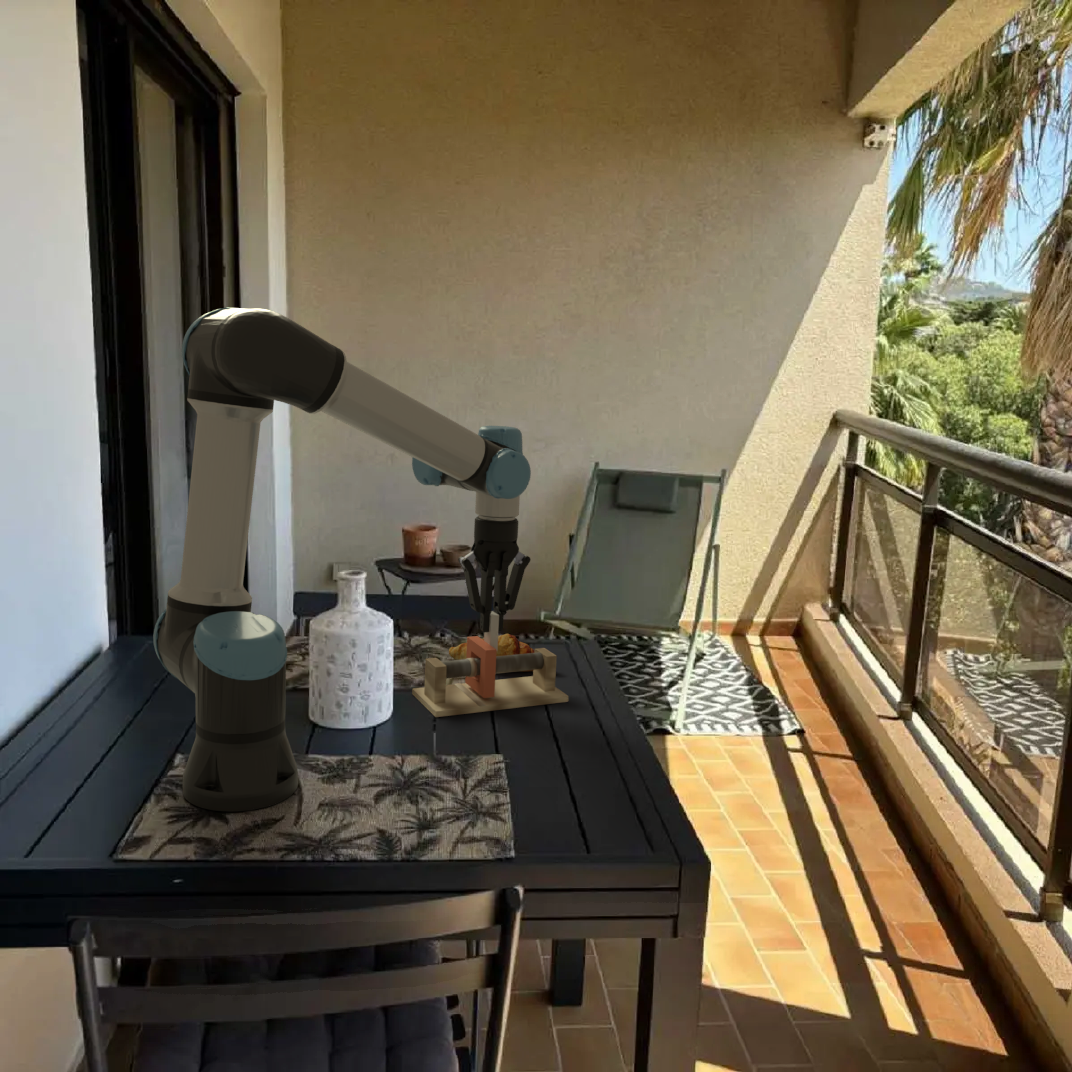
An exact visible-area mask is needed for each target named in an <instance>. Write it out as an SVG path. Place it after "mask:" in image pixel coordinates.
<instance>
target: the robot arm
mask: <svg viewBox="0 0 1072 1072" xmlns="http://www.w3.org/2000/svg"><path fill="white" fill-rule="evenodd" d="M181 344H182V345H181V357H182V362H183V366H184V368H185V370H186V372H187V374H188V376H189V380H188V388H187V389H188V390H187V391H188V392H187V399H186V400H187V402H188V403H189V404H190V405H191V407H192V408H193V409H194V411H195V412H196V414H197V415H196V426H195V433H194V434H195V435H194V445H193V452H192V454H193V455H192V463H191V464H192V465H191V466H192V467H191V474H190V483H189V484H190V486H189V494H188V502H187V503H188V504H187V512H186V513H187V515H186V523H185V524H186V525H185V534H184V535H185V536H184V543H183V553H182V554H183V555H182V560H181V561H182V564H181V573H180V579H179V582H178V583H176V584H175V585H174V586H172V587H170V589H169V590H168V591H167V601H166V608H165V610H164V611H162V612H161V614H160V615H159V617H158V618H157V620H156V623H155V625H154V629H153V639H152V640H153V646H154V647H153V648H154V651H155V653H156V656H157V658H158V660H159V661H160V663H161V664H162V667H164V669H165V670H166V672H168V673H169V674H171V677H174V678H175V679H177V680H178V681H180V682H181V683H182V684H183V685H185V687H186V688H188V689H189V690H190V691H191V692H192V693H193V694H194V696H195V738H194V742H193V744H192V747H191V750H190V752H189V756H188V760H187V762H186V765H185V768H184V771H183V775H182V795H183V797H184V799H185V800H186V801H187V802H188V803H190V804H192V805H194V806H195V807H198V808H201V809H205V810H209V811H217V812H245V811H247V812H248V811H253V810H258V809H264V808H267V807H271V806H273V805H275V804H276V805H277V804H279V803H281V802H282V801H284V800H287V799H288V798H289V797H291V796H292V795H293V794H294V793H295V792H296V791H297V789H298V785H299V783H298V782H299V770H298V764H297V762H296V760H295V756H294V754H293V751H292V747H291V745H290V741H289V738H288V736H287V732H286V696H287V695H286V688H287V687H286V685H287V682H286V681H287V660H288V659H287V657H288V648H287V647H288V646H287V643H286V634H285V630H284V629H283V627H282V626H281V625H280V623H279V622H278V621H276V620H275V619H273V618H271V617H270V616H266V615H264V614H262V613H261V614H255V613H254V612H252V604H253V603H252V601H253V597H252V595H251V594H250V593H249V592H248V591H247V590H246V588H245V587H244V579H245V578H244V577H245V566H246V557H247V550H248V549H247V548H248V538H249V531H250V523H251V521H250V520H251V512H252V503H253V494H254V486H255V485H254V484H255V476H256V475H255V474H256V468H257V466H256V465H257V458H258V449H259V448H258V447H259V439H260V432H261V431H260V430H261V423H262V421H263V420H264V419H265V418H267V417H268V416H269V415H270V414H272V413H273V411H274V406H275V404H274V403H275V401H277V402H280V403H284V404H287V405H290V406H293V407H295V408H297V409H300V410H302V411H304V412H305V413H308V414H310V415H312V414H317V413H320V412H322V413H324V414H326V415H328V416H330V417H332V418H334V419H336V420H338V421H340V422H342V423H344V424H346V425H348V426H350V427H352V428H354V429H356V430H358V431H360V432H363V433H364V434H366V435H368V436H370V437H372V438H374V439H376V440H378V441H379V442H382V443H384V444H386V445H388V446H390V447H392V448H394V449H396V450H398V451H400V452H402V453H404V454H405V455H408V456H410V457H411V458H412V460H411V461H412V462H411V465H412V472H413V475H414V477H415V479H416V480H417V482H419V483H420V484H421V485H423V486H434V487H439V486H449V487H454V488H458V489H461V490H465V491H470V492H475V504H474V505H475V507H474V508H475V509H474V512H475V514H476V515H477V516H476V517H475V518H474V527H473V537H474V538H473V543H472V545H471V548H470V552H469V553H468V554H466V555H465V556H462V555H461V556H459V557H458V559H457V561H458V563H459V565H460V567H461V568H462V570H463V575H464V579H465V584H466V586H465V587H466V589H467V590H466V591H467V595H468V601H469V606H470V609H472V610H474V611H475V612H477V613H480V616H479V617H480V619H479V620H480V621H479V629H480V631H481V632H482V633H483V634H484V635H483V639H484V641H485V642H487V643H488V644H489V645H491V646H492V647H494V648H495V649H496V650H497V648H498V636H499V632H503V630H504V618H505V617H504V616H506V614H507V611H512V610H514V609H515V606H516V602H517V600H518V595H519V591H520V587H521V584H522V581H523V577H524V574H525V570H526V569H527V567H528V565H529V563H530V562H531V557H530V556H528V555H526V554H524V553H522V552H521V551H520V548H519V545H518V542H517V541H518V537H519V520H518V519H517V517H518V516H519V514H520V500H521V499H520V496H521V495H522V494H523V493H524V492H525V491H526V489H527V488H528V486H529V483H530V480H531V476H532V475H531V473H532V472H531V471H532V470H531V466H530V463H529V460H528V459H527V457H526V456H525V455H524V453H523V434H522V433H523V432H522V431H521V429H519V428H518V427H513V426H507V425H505V426H503V425H482V426H481V427H480V428H479V429H478V432H477V433H476V432H474V431H472V430H471V429H468V428H467V427H465V426H463V425H461V424H460V423H458V422H456V421H454V420H452V419H451V418H449V417H447V416H445V415H443V414H442V413H439V412H438V411H437V410H435V409H433V408H430V407H429V406H427V405H426V404H423V403H422V402H420V401H418V400H417V399H415V398H413V397H412V396H410V395H408V394H405V393H404V392H402V391H400V390H398V389H397V388H395V387H393V386H391V385H390V384H388V383H386V382H384V381H383V380H381V379H379V378H377V377H375V376H374V375H372V374H370V373H368V372H366V371H364V370H363V369H361V368H359V367H358V366H355V365H354V364H352V363H350V362H349V361H348V360H347V356H346V353H345V351H344V350H343V349H341V348H338V346H335V345H334V344H332V343H330V342H329V341H327V340H325V339H324V338H322V337H320V336H318V335H317V334H316V333H314V332H312V331H311V330H310V329H307V328H306V327H304V326H302V325H301V324H299V323H298V322H295V321H294V320H292V319H290V317H287V316H285V315H284V314H281V313H278V312H276V311H273V310H270V309H266V308H243V307H242V308H239V307H223V308H217V309H213V310H212V311H209V312H207V313H204V314H203V315H201V316H199V317H198V318H196V320H195V321H193V322H192V323H191V325H190V326H189V327H188V328H187V331H186V332H185V335H184V337H183V341H182V343H181ZM475 560H476V562H477V564H478V565H479V566H480V569H479V570H480V588H479V584H478V580H477V573H476V570H475V568H474V566H475V565H476V563H475ZM512 562H514V563H513V565H512V568H511V571H510V575H509V567H510V565H511V564H512ZM508 576H509V577H508ZM507 577H508V583H507ZM479 589H480V590H479Z"/></svg>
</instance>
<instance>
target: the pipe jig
mask: <svg viewBox="0 0 1072 1072" xmlns="http://www.w3.org/2000/svg"><path fill="white" fill-rule="evenodd" d="M533 650H534V653H527V654H517V655H506V656H496V672H495V675H496V674H505V673H517V672H522V671H525V672H527V671H526V670H533V671H532V675H531V676H522V677H510V678H503V679H495V694H494V697H489V698H483V697H482V696H481V695H479V694H478V693H477V692H476V691H475V690H474V689H472V688H471V687H470V686H469V685H468V684H466V683H465V682H463V683H461V682H460V683H451V684H447V679H455V678H457V679H458V678H464V677H465V678H466V677H475V676H477V675H480V665H481V658H467V659H462V660H455V659H453V660H444V661H441V660H440V659H438V657H429V658H425V661H424V662H425V664H424V667H425V668H424V686H423V687H415V688H412V690H411V691H412V692H411V694H412V696H414V697H415V699H417V700H418V702H420V703H421V705H423V706H424V708H426V709H427V710H428V711H429V712H430V713H431V714H432V715H433V716H434V717H435V718H439V717H441V718H442V717H448V716H449V717H450V716H457V715H464V714H465V715H466V714H474V713H482V712H483V713H484V712H492V711H499V710H509V709H516V708H517V709H518V708H524V707H525V708H526V707H533V706H534V707H535V706H543V705H550V704H551V705H552V704H559V703H567V702H569V695H567V693H565V692H563V691H562V690H561V689H559V688H557V686H556V675H557V673H556V672H557V659H558V658H557V657H558V656H557V655H556V654H555V653H553V652H551V651H550V650H548V649H547V648H545V647H540V648H534V649H533ZM516 671H517V672H516Z"/></svg>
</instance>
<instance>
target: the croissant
mask: <svg viewBox="0 0 1072 1072" xmlns="http://www.w3.org/2000/svg"><path fill="white" fill-rule="evenodd" d="M481 639H482V640H484V638H481ZM534 650H535V649H534V648H532V647H530V645H529V644H528V643H526V642H522V641H520V640H519V639H518V638H517V637H516V635H513V634H509V633H505V634H500V635H499V634H498V648H497V651H496V656H506V655H517V654H527V653H534ZM466 653H467V642H463V643H460V644H458V645H457V646H451V647H449V649H448V655H449V656H450V657H451V658H452V659H453V660H462V659H466ZM517 672H518V671H516V672H515V673H517ZM521 672H522V673H523V672H533V670H526V671H521Z"/></svg>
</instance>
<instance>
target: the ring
mask: <svg viewBox="0 0 1072 1072" xmlns="http://www.w3.org/2000/svg"><path fill="white" fill-rule="evenodd" d="M482 639H483V638H481V637H480V636H478V635H476V636H475V635H474V636H472V635H471V636H467V637H466V643H467V653H466V659H467V658H481V665H480V675H477V676H475V677H465V680H464V683H466V684H468V685H469V686H470V687H471V688H472V689H474V690H475V691H476V692H477V693H478V694H479V695H481V696H482V697H483V698H489V697H494V694H495V680H496V674H495V672H496V651H497V650H496V649H495V648H494V647H492V646H491V645H489V644H488V643H487V642H485V641H484V640H482Z"/></svg>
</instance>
